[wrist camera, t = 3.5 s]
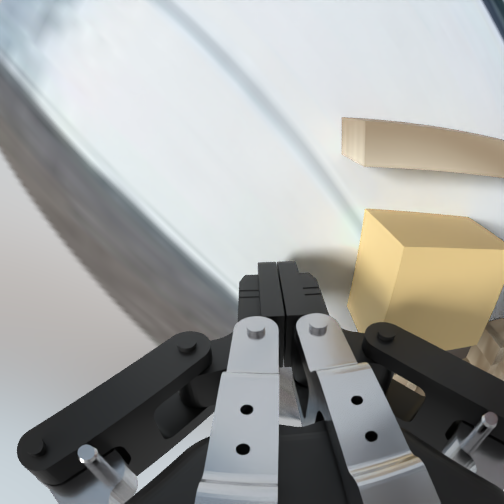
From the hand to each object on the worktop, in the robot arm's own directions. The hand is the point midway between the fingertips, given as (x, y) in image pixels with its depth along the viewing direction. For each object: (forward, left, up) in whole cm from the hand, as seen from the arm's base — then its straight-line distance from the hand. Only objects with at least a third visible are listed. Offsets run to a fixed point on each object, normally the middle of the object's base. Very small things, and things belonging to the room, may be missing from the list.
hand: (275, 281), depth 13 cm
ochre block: (0, +7, -1) cm, 7 cm away
